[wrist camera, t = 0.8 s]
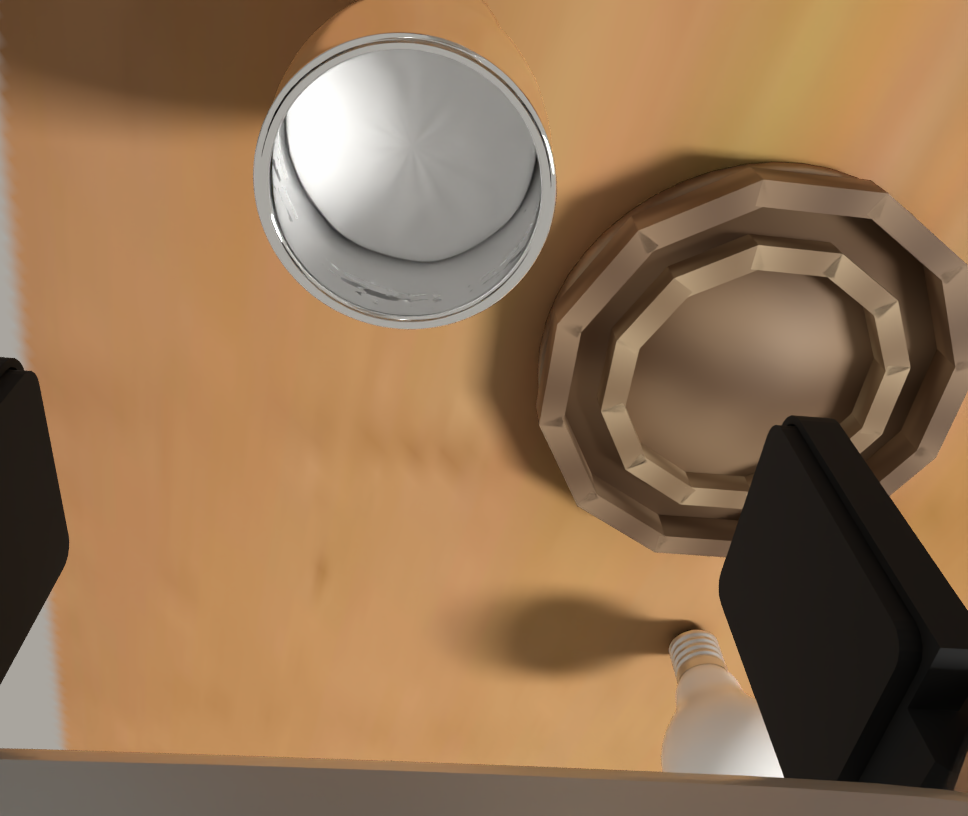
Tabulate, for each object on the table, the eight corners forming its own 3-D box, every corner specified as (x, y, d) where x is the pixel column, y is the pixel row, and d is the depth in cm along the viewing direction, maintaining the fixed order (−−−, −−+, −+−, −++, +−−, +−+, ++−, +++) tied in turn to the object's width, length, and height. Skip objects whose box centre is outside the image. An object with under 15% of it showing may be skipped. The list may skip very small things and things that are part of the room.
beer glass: (380, 187, 34) (340, 380, 21) (289, 9, 30) (176, 110, 18) (546, 114, 33) (610, 271, 20) (472, -82, 29) (491, -43, 16)
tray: (575, 137, 33) (585, 156, 31) (1017, 187, 35) (1056, 209, 33) (511, 509, 42) (515, 544, 40) (862, 534, 44) (884, 569, 42)
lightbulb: (754, 664, 49) (827, 851, 40) (643, 688, 50) (689, 878, 40) (741, 584, 46) (816, 768, 36) (622, 611, 46) (666, 798, 37)
